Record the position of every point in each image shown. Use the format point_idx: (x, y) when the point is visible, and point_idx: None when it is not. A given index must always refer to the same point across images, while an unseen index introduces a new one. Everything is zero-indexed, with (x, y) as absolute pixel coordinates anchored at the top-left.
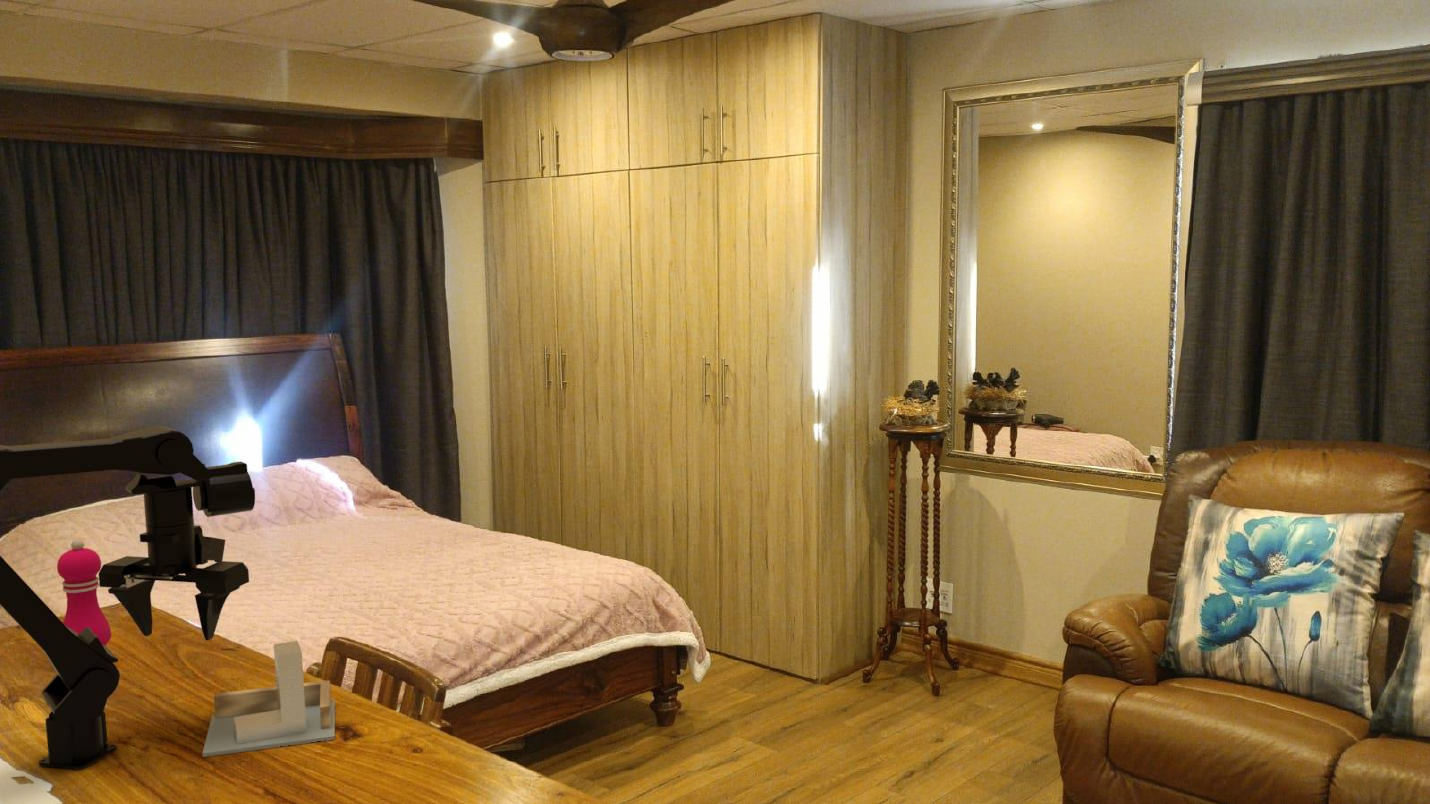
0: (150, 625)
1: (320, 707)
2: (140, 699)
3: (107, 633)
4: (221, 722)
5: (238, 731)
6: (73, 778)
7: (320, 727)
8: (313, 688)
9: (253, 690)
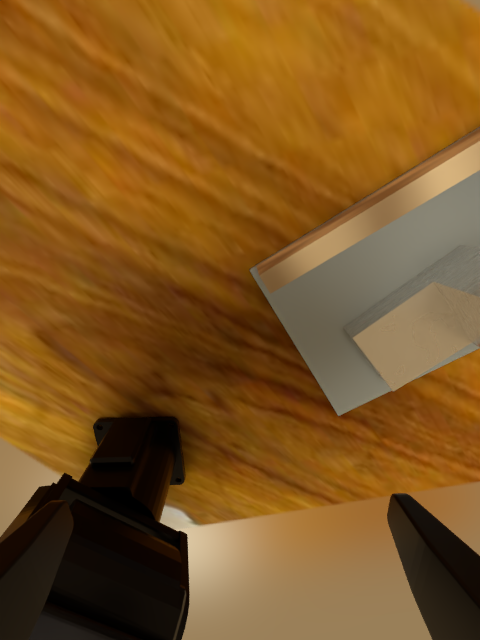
0: (39, 551)
1: None
2: (6, 206)
3: None
4: (293, 300)
5: (395, 388)
6: (192, 494)
7: None
8: None
9: (349, 232)
